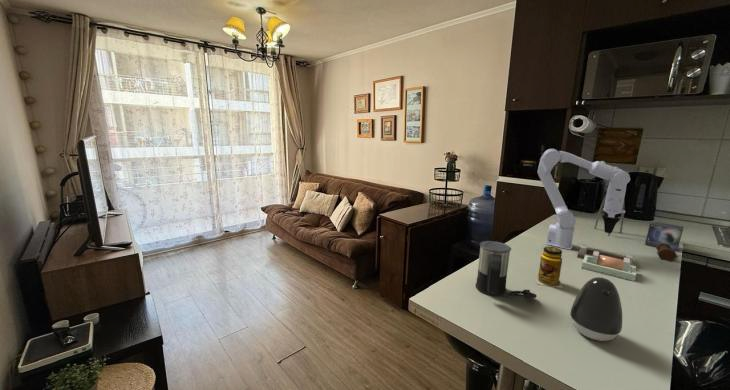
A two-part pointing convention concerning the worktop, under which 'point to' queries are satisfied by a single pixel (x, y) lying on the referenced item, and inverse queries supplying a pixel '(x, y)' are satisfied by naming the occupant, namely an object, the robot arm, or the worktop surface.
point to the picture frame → (664, 234)
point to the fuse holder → (585, 250)
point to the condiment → (550, 267)
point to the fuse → (610, 262)
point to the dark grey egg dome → (598, 310)
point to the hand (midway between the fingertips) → (608, 230)
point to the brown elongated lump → (666, 252)
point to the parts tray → (609, 269)
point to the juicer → (600, 213)
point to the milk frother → (496, 270)
